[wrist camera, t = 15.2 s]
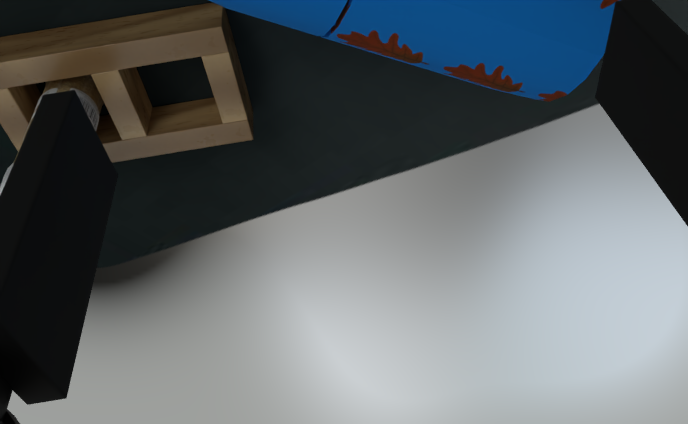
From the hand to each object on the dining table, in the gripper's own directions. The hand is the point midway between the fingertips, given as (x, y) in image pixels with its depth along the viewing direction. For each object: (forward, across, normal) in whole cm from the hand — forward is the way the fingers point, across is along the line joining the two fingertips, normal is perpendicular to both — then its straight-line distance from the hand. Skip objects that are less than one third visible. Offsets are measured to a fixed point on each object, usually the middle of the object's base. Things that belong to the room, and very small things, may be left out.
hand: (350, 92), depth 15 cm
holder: (+31, -16, -16) cm, 38 cm away
